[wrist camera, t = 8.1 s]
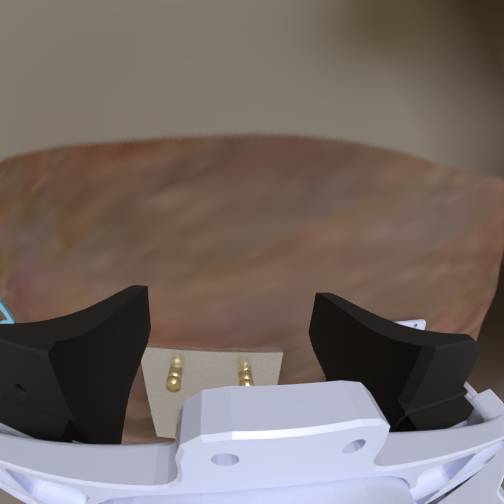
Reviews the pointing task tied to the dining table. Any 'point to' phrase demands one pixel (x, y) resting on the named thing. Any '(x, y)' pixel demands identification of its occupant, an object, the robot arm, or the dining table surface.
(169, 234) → the dining table surface
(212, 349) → the plate with brass knobs
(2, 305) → the chair
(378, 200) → the dining table surface
